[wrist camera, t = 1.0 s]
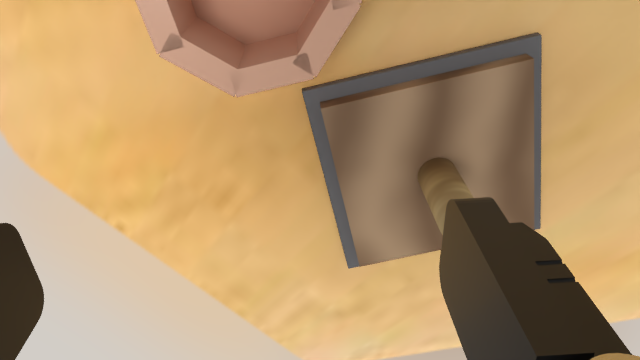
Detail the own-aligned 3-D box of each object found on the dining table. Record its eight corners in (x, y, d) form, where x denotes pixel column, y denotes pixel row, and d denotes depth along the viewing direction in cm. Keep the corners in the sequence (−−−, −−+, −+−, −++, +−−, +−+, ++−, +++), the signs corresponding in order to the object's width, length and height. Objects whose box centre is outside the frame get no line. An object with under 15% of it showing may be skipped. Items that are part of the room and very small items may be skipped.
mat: (537, 32, 32) (541, 34, 31) (537, 224, 40) (540, 228, 39) (302, 88, 33) (302, 91, 33) (347, 263, 41) (348, 268, 41)
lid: (526, 53, 32) (582, 91, 26) (528, 221, 39) (572, 282, 33) (319, 102, 33) (326, 149, 27) (357, 257, 40) (369, 323, 34)
